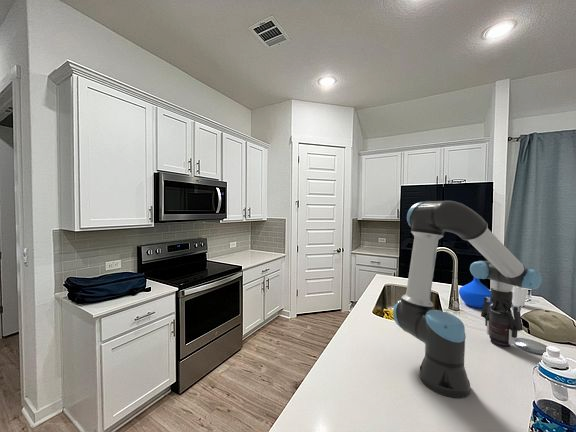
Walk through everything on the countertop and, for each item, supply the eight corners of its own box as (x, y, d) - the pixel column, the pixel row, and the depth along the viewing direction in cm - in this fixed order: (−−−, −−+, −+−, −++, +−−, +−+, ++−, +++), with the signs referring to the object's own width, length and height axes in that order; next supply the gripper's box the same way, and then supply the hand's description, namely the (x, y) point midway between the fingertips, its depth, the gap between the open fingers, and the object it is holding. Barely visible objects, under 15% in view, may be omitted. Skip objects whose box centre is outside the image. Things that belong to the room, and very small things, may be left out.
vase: (462, 298, 172) (463, 271, 172) (496, 306, 159) (497, 276, 158) (455, 305, 160) (455, 275, 159) (491, 313, 146) (492, 281, 146)
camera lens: (516, 349, 108) (517, 315, 108) (495, 347, 110) (496, 314, 109) (504, 340, 116) (505, 308, 116) (484, 338, 118) (485, 307, 117)
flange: (539, 357, 103) (539, 353, 103) (506, 342, 114) (506, 339, 114) (557, 352, 106) (557, 349, 106) (523, 338, 118) (523, 335, 118)
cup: (530, 307, 156) (531, 288, 156) (516, 307, 156) (516, 288, 156) (517, 302, 165) (518, 284, 165) (504, 302, 165) (504, 284, 165)
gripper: (536, 296, 103) (534, 349, 104) (483, 282, 124) (481, 327, 124) (524, 298, 101) (522, 352, 102) (472, 283, 121) (471, 329, 122)
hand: (500, 338), depth 113 cm, fingers open, 8 cm apart
